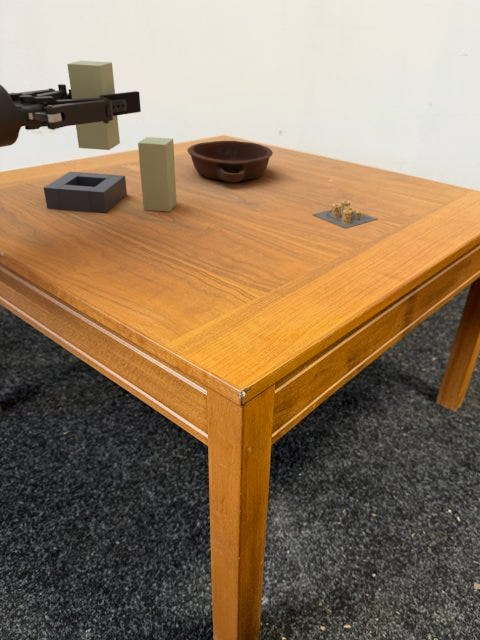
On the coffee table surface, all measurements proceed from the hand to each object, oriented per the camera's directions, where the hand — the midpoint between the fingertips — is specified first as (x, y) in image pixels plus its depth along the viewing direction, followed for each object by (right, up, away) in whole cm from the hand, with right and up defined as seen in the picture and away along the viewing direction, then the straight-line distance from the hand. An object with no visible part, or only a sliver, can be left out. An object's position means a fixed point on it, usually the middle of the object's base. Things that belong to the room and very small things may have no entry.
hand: (122, 98), depth 82 cm
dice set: (+35, -15, +12) cm, 40 cm away
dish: (+14, -1, +33) cm, 36 cm away
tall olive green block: (-3, -7, 0) cm, 8 cm away
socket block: (-10, -11, +15) cm, 21 cm away
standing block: (+3, -13, +13) cm, 19 cm away
